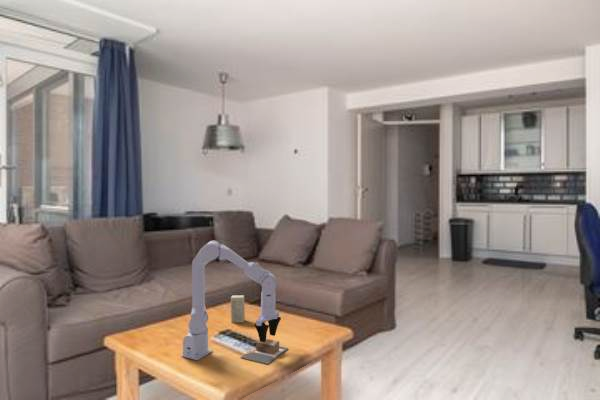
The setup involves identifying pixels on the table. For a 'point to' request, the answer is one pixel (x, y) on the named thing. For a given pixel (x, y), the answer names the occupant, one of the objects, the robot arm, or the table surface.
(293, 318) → the table surface
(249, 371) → the table surface
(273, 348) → the banded brown carton
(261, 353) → the mat
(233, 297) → the skincare box
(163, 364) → the table surface
